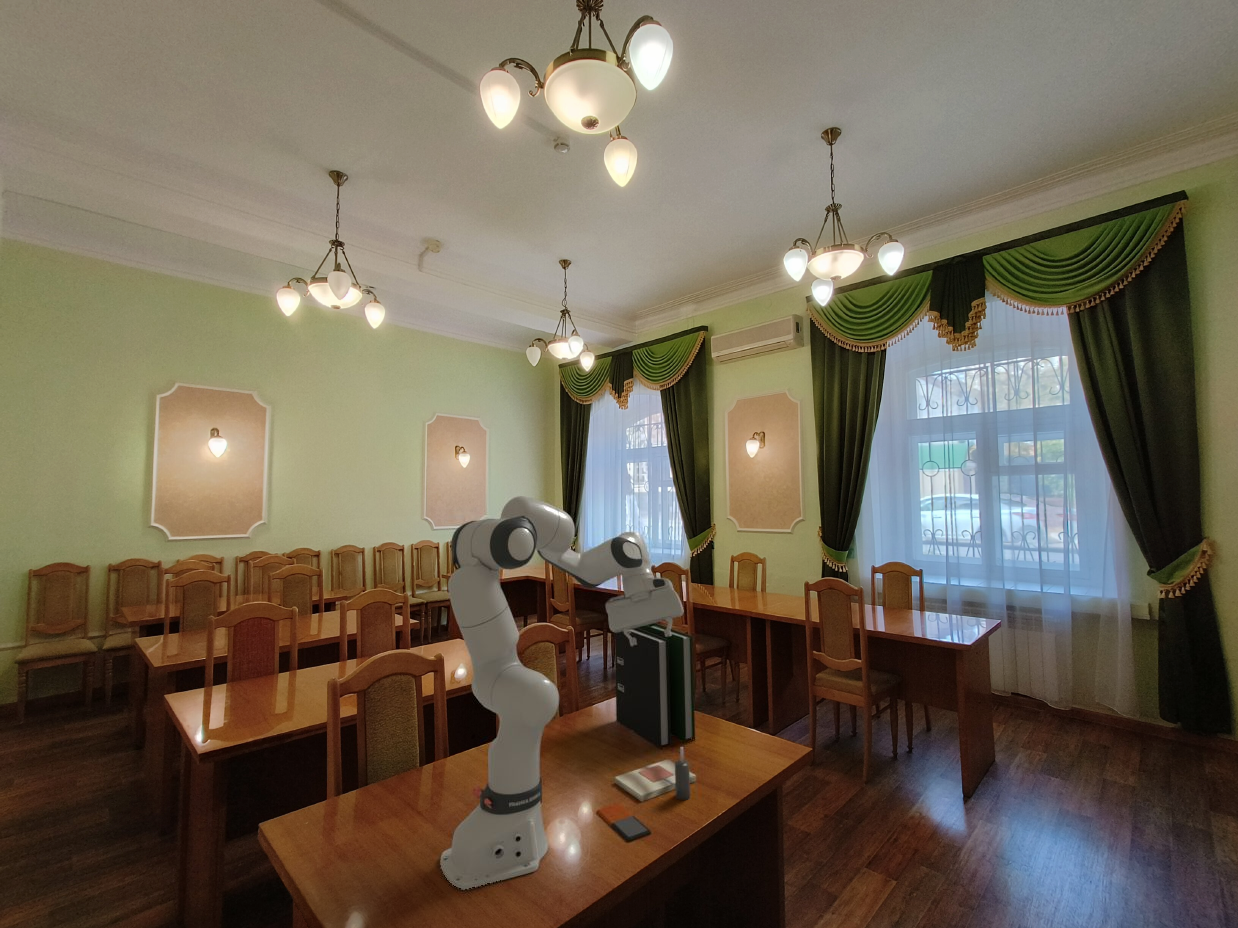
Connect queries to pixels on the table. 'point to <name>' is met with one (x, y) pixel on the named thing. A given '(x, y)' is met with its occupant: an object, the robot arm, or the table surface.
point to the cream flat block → (650, 780)
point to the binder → (655, 684)
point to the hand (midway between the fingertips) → (651, 640)
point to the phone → (623, 822)
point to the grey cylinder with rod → (682, 778)
